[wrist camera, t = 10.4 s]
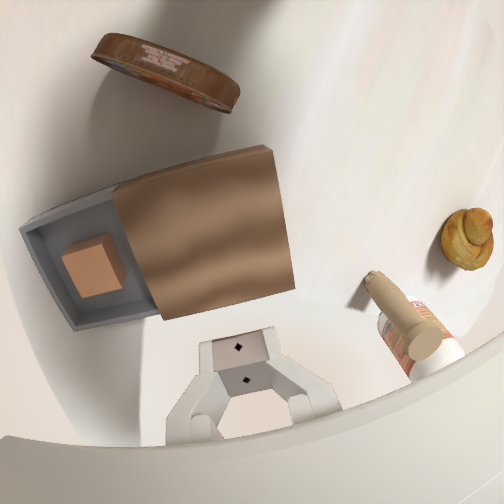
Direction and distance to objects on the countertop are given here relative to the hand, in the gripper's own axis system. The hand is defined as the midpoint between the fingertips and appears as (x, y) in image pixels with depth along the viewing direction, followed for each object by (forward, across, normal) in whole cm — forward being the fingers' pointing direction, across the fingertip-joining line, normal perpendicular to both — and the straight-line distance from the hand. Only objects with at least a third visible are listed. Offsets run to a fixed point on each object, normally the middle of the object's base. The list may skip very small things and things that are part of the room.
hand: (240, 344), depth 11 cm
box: (+24, +17, +5) cm, 30 cm away
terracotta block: (+20, +17, +6) cm, 27 cm away
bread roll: (+24, -37, +16) cm, 47 cm away
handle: (+24, -19, +19) cm, 36 cm away
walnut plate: (+24, +2, +5) cm, 25 cm away
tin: (+25, +2, -13) cm, 28 cm away
